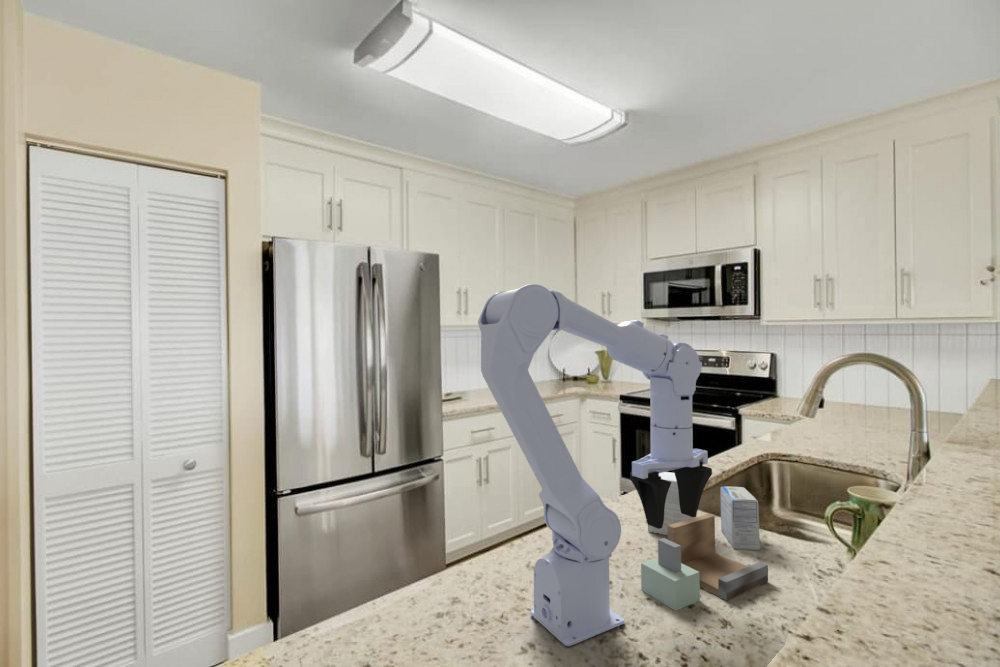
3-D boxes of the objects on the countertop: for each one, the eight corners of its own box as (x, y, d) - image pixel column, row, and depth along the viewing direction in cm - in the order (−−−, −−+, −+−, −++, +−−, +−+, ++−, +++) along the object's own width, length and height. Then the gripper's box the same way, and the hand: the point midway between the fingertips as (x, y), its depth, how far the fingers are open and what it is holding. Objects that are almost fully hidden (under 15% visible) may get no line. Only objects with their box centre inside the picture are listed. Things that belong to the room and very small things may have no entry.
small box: (697, 530, 89) (696, 475, 89) (691, 541, 84) (691, 482, 84) (654, 522, 93) (653, 469, 93) (646, 532, 88) (646, 476, 88)
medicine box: (760, 551, 80) (759, 500, 80) (732, 549, 81) (731, 499, 81) (745, 533, 88) (745, 486, 88) (720, 531, 88) (719, 485, 89)
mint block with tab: (675, 611, 62) (674, 554, 62) (641, 590, 68) (640, 538, 68) (699, 600, 65) (699, 546, 65) (665, 581, 70) (664, 531, 70)
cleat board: (726, 600, 65) (725, 549, 65) (667, 570, 73) (667, 525, 73) (768, 581, 70) (767, 534, 70) (708, 555, 78) (708, 513, 78)
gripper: (661, 435, 60) (662, 542, 60) (726, 424, 68) (727, 518, 67) (620, 427, 66) (620, 524, 66) (684, 418, 74) (684, 504, 73)
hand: (672, 520), depth 67 cm, fingers open, 7 cm apart
